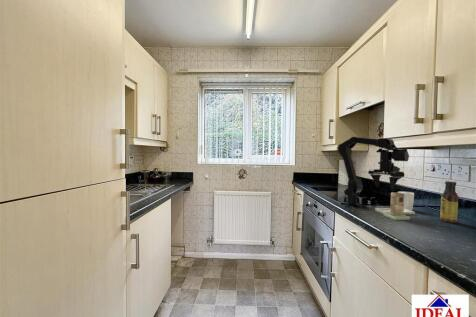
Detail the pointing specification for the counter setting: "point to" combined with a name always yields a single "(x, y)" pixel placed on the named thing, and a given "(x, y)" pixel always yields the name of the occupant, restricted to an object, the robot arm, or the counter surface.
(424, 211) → the counter surface
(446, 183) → the sauce bottle
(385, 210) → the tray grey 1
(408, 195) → the white cup
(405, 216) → the tray green
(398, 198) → the letter block
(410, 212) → the grey tray
